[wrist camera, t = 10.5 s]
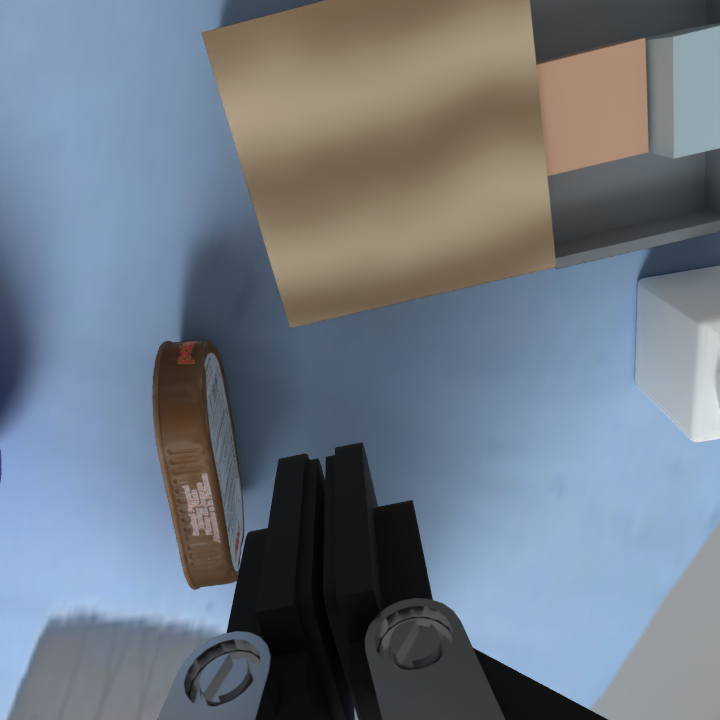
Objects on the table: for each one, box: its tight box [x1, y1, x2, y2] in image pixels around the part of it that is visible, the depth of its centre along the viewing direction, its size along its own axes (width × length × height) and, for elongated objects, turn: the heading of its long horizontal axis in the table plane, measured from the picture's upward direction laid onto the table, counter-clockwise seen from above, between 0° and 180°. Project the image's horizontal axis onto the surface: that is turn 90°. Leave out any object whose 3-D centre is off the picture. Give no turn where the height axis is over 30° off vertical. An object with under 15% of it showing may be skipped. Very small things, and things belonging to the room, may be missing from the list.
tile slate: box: [645, 23, 720, 159], centre depth 29 cm, size 5×5×3 cm
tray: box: [530, 0, 720, 269], centre depth 31 cm, size 14×10×3 cm
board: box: [202, 0, 556, 328], centre depth 31 cm, size 14×14×4 cm
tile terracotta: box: [536, 38, 649, 176], centre depth 30 cm, size 5×5×3 cm
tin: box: [152, 340, 244, 590], centre depth 35 cm, size 15×3×8 cm, turn 3°
